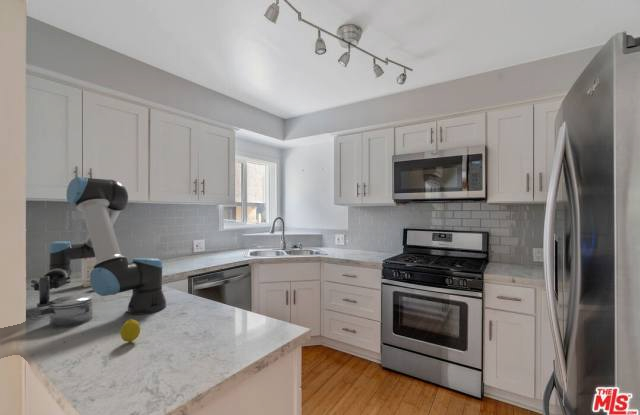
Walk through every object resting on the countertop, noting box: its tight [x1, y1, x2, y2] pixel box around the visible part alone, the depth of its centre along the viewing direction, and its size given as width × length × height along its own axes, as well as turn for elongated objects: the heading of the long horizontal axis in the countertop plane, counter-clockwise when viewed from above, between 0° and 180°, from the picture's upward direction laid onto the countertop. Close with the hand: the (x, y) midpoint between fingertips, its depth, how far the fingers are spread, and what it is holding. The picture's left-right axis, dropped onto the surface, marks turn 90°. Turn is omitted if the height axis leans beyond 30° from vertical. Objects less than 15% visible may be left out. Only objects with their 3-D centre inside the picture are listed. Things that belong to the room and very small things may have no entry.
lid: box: [36, 276, 94, 309], centre depth 114 cm, size 17×13×11 cm
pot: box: [37, 298, 94, 329], centre depth 114 cm, size 16×14×8 cm
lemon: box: [120, 318, 141, 344], centre depth 97 cm, size 6×6×8 cm
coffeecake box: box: [81, 257, 97, 288], centre depth 176 cm, size 15×7×20 cm, turn 144°
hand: (41, 290), depth 111 cm, fingers closed
